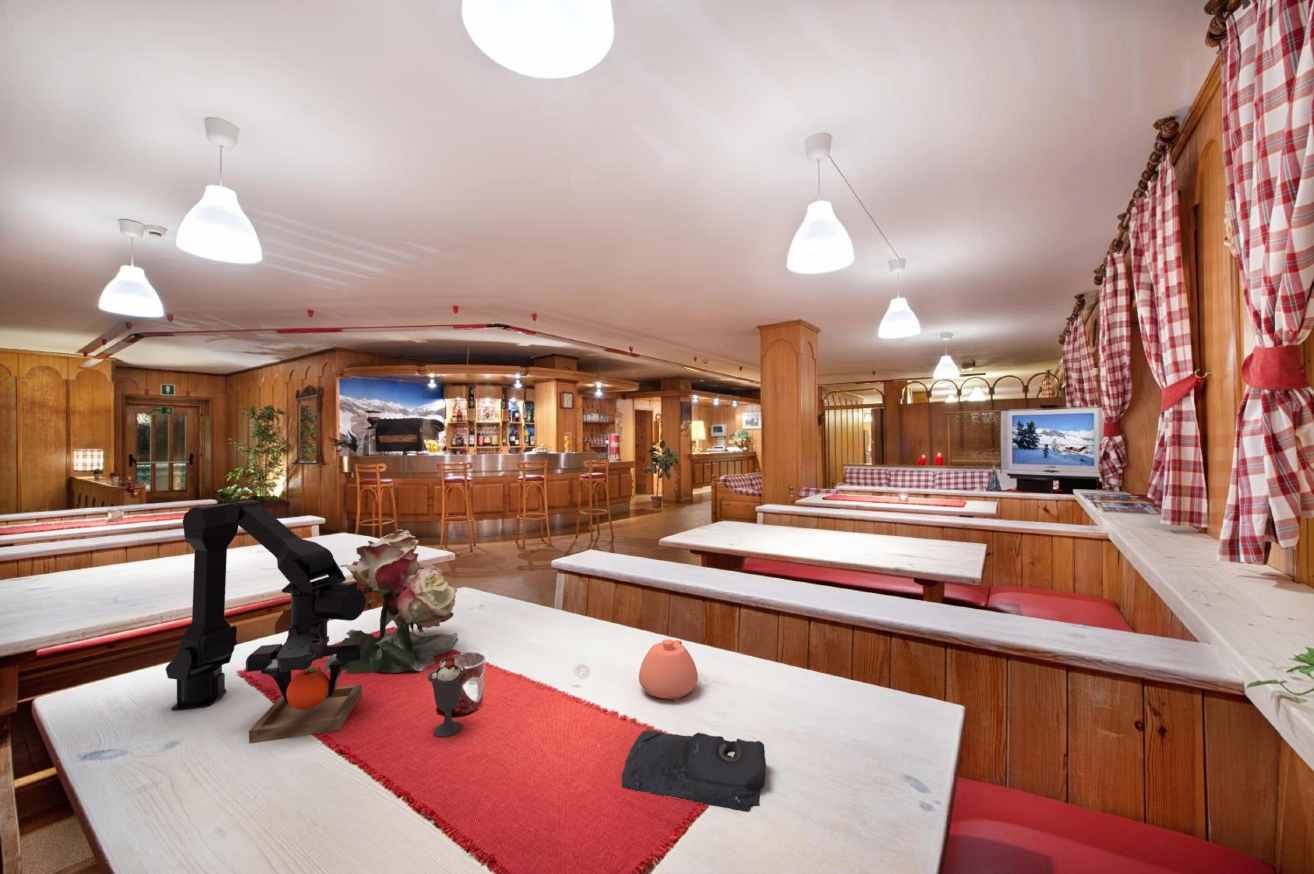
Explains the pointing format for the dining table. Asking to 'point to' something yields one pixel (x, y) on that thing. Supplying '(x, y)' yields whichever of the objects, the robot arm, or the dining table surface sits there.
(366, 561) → the rose bouquet
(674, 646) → the sugar bowl
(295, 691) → the clementine
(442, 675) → the sundae
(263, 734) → the walnut dish
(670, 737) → the black grommet pouch
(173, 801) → the dining table surface
